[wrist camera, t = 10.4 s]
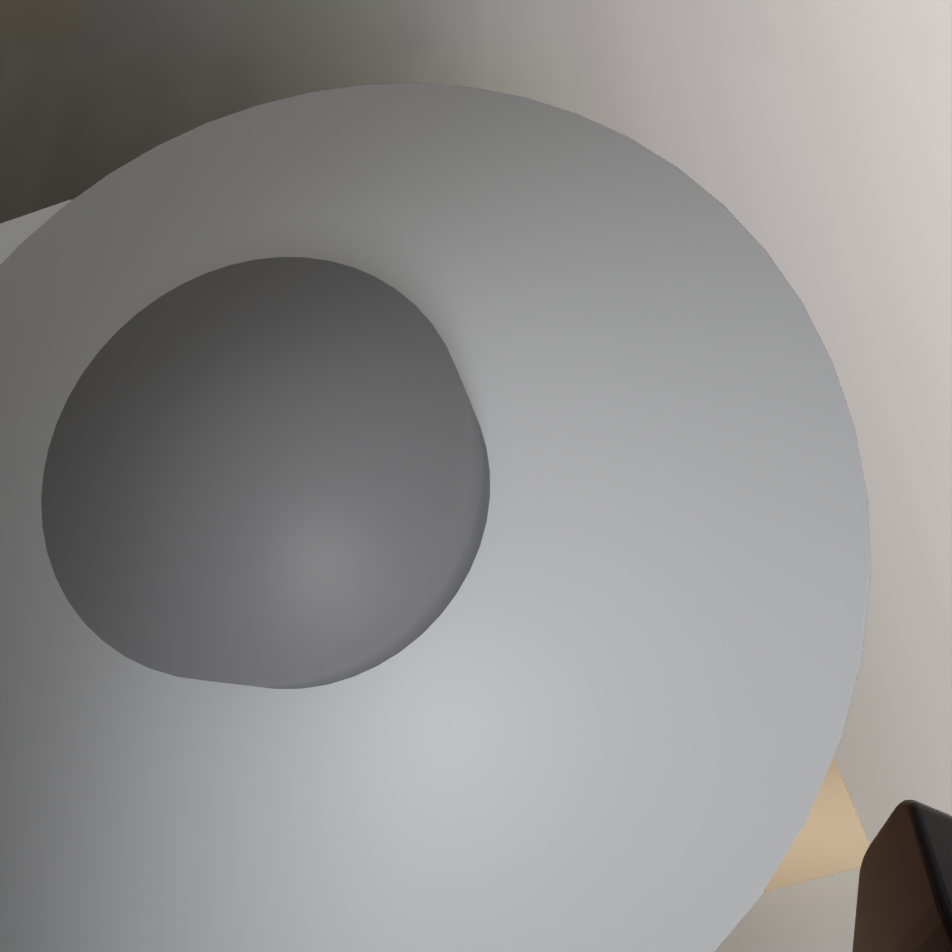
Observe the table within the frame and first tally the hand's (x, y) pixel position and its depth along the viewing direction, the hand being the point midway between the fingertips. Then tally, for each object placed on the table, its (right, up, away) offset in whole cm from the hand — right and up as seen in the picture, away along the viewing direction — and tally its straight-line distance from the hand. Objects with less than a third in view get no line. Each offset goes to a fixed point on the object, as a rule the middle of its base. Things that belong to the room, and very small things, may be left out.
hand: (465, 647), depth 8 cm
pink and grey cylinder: (+1, -2, +7) cm, 8 cm away
